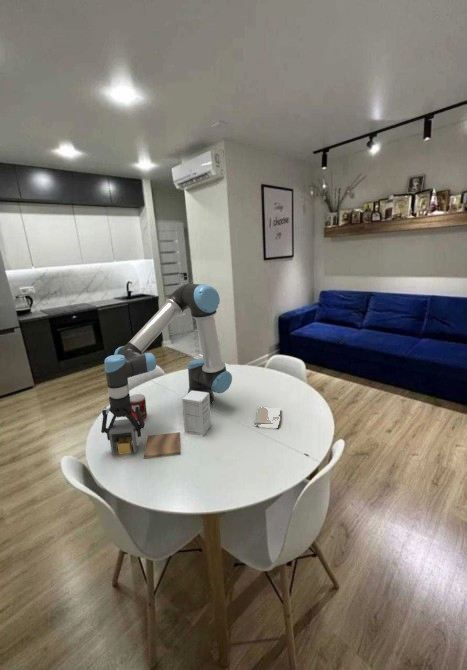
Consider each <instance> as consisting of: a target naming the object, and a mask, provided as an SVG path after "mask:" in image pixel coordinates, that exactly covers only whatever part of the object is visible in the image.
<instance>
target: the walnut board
mask: <svg viewBox="0 0 467 670" xmlns="http://www.w3.org/2000/svg"><path fill="white" fill-rule="evenodd" d="M178 455H181V432H180V431H179V432H178V431H177V432H169V433H158V434H150V435H149V434H148V435H147V436H146V441H145V448H144V453H143V459H153V458H163V457H169V456H170V457H171V456H178Z"/></svg>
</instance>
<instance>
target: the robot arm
mask: <svg viewBox="0 0 467 670" xmlns="http://www.w3.org/2000/svg"><path fill="white" fill-rule="evenodd" d="M219 295H220V294H219V292H218V291H217V290H216V288H214V287H213V286H211V285H208V284H204V283H202V284H200V283H193V282H192V283H191V282H190V283H184V284H183V285H181V286H179V287H177V288H176V289H175V290H174V291H173V292H172V293H170V294H169V295H168V297H167V298H166V299H165V303H164V304H163V305H162V307H160V308H159V310H158V311H157V312H156V313H155V314H154V315H153V316H152V317H151V318H150V319H149V320H148V321H147V322H146V323H145V324H144V326H143V327H141V329H140V330H139V331H138V332H137V333H136V334H135V335H134V336H133V337H132V338H131V340H129V341H128V342H127V344H125V345H123V346H119V347H118V348H117V349H115V351H114V354H113V355H108V356H107V357H106V358H105V359H104V373H105V379H106V384H107V393H108V400H109V407H103V408H102V410H101V413H102V421H101V422H102V424H101V430H100V433H102V434H106V437H107V438H106V439H107V441H110V438H109V431H110V429H111V428H112V426H113V424H114V421H115V420H117V419H118V418H126V419H129V420H130V422H131V423H132V424H133V426H134V427H135V428H136V429H135V436H136V444H137V446H139V444H140V438H141V436H142V430H144V429H145V427H146V423H145V420H143V418H142V415H141V413H140V410H139V405H138V404H137V405H136V406H132V404H131V402H130V396H131V395H130V387H129V378H133V377H135V376H139V375H142V374H145V373H150V372H152V371H154V370H156V368H157V360H156V356H155V355H154V354H153V353H152V352H145V351H146V350H147V348H149V347H150V345H151V344H152V343H153V342H154V341H155V340H156V339H157V338H158V336H159V335H160V334H161V333H163V331H164V330H165V329H166V328H167V327H168V326H169V325H170V323H171V322H172V321H173V320H174V319H175V318H176V317H177V316H178V315H182V313H183V312H185V310H188V309H189V310H190V315H191V317H192V318H193V319H195V322H196V323H195V324H196V328H197V334H198V337H199V338H198V339H199V343H200V349H201V355H202V358H196V359H193V360H190V361H189V362H188V364H187V372H188V375H187V376H188V391H187V394H188V393H189V392H190V391H191V390H192V391H200V392H207V393H209V395H210V405H212V404H213V403H214V402H215V394H214V393H216V394H224V393H225V392H226V391H228V389H229V388H230V386H231V385H232V382H233V375H232V373H231V372H230V371H227V367H226V363H225V362H224V361H223V360H222V354H221V350H220V349H221V348H220V344H219V338H218V331H217V325H216V322H215V321H216V320H215V316H216V314H217V309H218V308H219V305H220V301H221V300H220V296H219ZM144 352H145V353H144ZM187 394H186V395H187ZM213 401H214V402H213ZM212 402H213V403H212ZM131 409H133V410H134V412H135V413H136V416H137V419H138V421H139V422H137V420H136V419H135V418H134V416H133V415H132V413H131ZM109 413H111V414H112V415H113V416H112V418H111V420H110V422H109V425H108V426H107V422H108V415H109Z"/></svg>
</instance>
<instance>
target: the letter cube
mask: <svg viewBox="0 0 467 670" xmlns="http://www.w3.org/2000/svg"><path fill="white" fill-rule="evenodd" d="M132 449H133V443H132V440H131V437H125V438H120V439H119V442H118V445H117V450H118V455H122V454H131V452H132Z"/></svg>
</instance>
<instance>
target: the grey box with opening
mask: <svg viewBox="0 0 467 670" xmlns="http://www.w3.org/2000/svg"><path fill="white" fill-rule="evenodd" d="M135 419H136V418H135ZM136 420H137V419H136ZM135 429H136V428H135V427H134V426H133V424H132V423H131V422H130V420H129V419H127V418H126V419H115V421H114V424H113V426H112V428H111V429H110V431H109V438H110V440H109V444H110V450H111V455H112V456H114V455H115V454H116V450H117V449H118V442H119V439H120V438H125V437H131V440H132V449H133V453H137V448H138V445H137V444H136V436H135Z"/></svg>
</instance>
